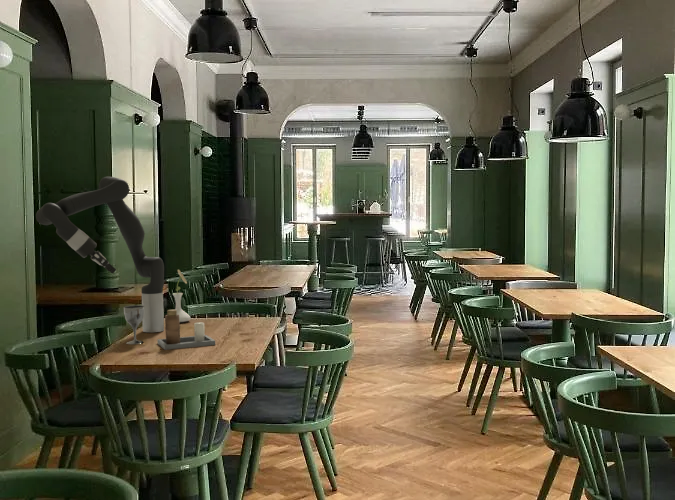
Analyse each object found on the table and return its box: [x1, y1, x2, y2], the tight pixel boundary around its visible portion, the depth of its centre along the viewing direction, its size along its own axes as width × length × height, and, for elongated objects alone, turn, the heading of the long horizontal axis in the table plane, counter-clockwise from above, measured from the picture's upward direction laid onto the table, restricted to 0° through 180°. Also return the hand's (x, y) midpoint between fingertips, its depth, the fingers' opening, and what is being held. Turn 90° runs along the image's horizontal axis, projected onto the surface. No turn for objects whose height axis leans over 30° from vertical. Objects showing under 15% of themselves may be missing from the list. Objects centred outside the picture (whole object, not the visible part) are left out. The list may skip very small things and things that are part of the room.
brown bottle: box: [164, 309, 181, 345], centre depth 295 cm, size 6×6×14 cm
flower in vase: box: [172, 269, 192, 323], centre depth 358 cm, size 13×11×25 cm
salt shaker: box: [193, 321, 206, 342], centre depth 300 cm, size 4×4×8 cm
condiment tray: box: [156, 334, 216, 351], centre depth 297 cm, size 14×20×2 cm
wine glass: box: [123, 304, 145, 345], centre depth 306 cm, size 8×8×15 cm
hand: (112, 270), depth 296 cm, fingers open, 8 cm apart
